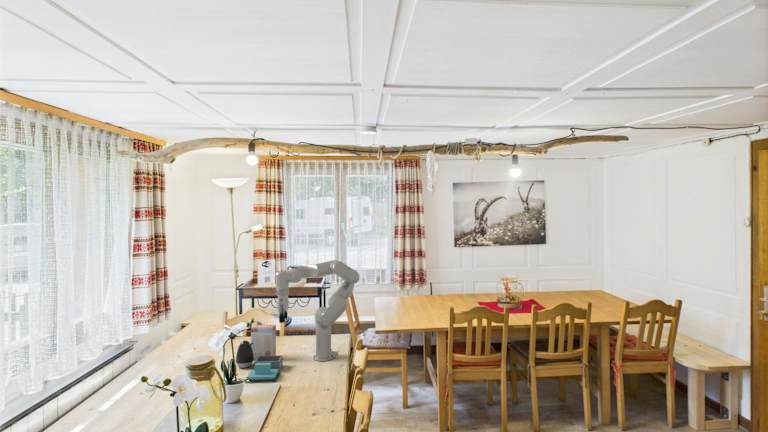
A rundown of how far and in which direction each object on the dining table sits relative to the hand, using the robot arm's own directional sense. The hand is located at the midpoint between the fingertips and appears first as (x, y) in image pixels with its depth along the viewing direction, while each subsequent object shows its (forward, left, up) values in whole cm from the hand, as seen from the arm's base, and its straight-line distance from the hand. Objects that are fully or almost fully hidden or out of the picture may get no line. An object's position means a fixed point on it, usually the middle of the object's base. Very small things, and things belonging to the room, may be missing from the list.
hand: (283, 320), depth 227 cm
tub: (+7, +7, -26) cm, 28 cm away
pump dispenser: (+22, +2, -27) cm, 35 cm away
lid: (+7, +20, -25) cm, 32 cm away
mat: (+7, +20, -26) cm, 34 cm away
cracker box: (+14, -9, -27) cm, 31 cm away
